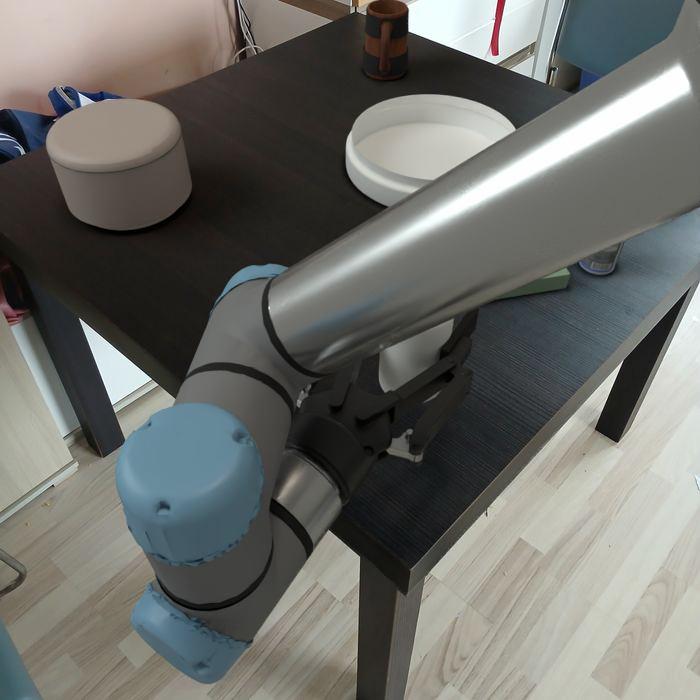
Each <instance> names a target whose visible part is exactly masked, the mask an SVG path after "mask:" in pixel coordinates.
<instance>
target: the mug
mask: <svg viewBox="0 0 700 700" xmlns="http://www.w3.org/2000/svg"><path fill="white" fill-rule="evenodd" d="M365 8H366V9H365V23H364V33H365V36H364V37H365V39H364V45H363V52H362V70H363V71H364V73H365V75H367V76H368V77H370V78H372V79H375V80H379V81H392V80H397V79H399V78H402V77H403V76H404V75H405V73H406V72H407V70H408V69H409V46H408V34H409V30H410V29H409V28H410V27H409V26H410V25H409V19H410V18H409V17H410V8H409V6H408V4H407V3H405V2H403V1H401V0H373V1H371V2H369V3H368V5H367V6H366V7H365Z"/></svg>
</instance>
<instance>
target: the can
mask: <svg viewBox="0 0 700 700" xmlns="http://www.w3.org/2000/svg"><path fill="white" fill-rule="evenodd" d="M454 320H455V318H454V319H451V320H449V321H447V322H445V323H443V324H440V325H438V326H436V327H434V328H431V329H429V330H427V331H425V332H423V333H420V334H418V335H416V336H414V337H412V338H409V339H407V340H405V341H403V342H400V343H398V344H396V345H394V346H392V347H389V348H387V349H385V350H383V351H380V352H379V359H378V360H379V362H378V382H379V385H380V387H381V389H382V391H383V392H384V393H386V392H387V391H389V390H392V391H394V390H396V389H397V388H399V387H400V386H402V385H403V384H405V383H406V382H408V381H409V380H411V379H412V378H414V377H415V376H417V375H419V374H420V373H422V372H423V371H425V370H426V369H428V368H429V367H431V366H432V365H434V364H435V363H437V362H438V361H439V358H440V351H441V348H442V346H443V345H444V344H445V343H446V342H447V340H448V339H449V338H450V336H451V334H452V333H453V326H454V322H455V321H454ZM440 393H441V391H439V392H438V393H436V394H435V395H433V396H432V397H430V398H429V399H428V400H426V401H425V402H423V403H422V404H424V403H427V402H429V401H431V400H433V399H434V398H437V397H438V396H439V395H440Z"/></svg>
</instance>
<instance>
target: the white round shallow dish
mask: <svg viewBox="0 0 700 700" xmlns="http://www.w3.org/2000/svg"><path fill="white" fill-rule="evenodd" d="M515 130H517V128H515V126H514V125H513V123H512V122H511V121H510V120H509V119H508V118H507V117H506V116H504V115H503V114H502V113H500V112H499V111H497V110H495V109H494V108H492V107H490V106H488V105H485V104H483V103H481V102H478V101H475V100H471V99H468V98H464V97H458V96H453V95H447V94H446V95H445V94H434V93H433V94H430V93H429V94H425V93H424V94H423V93H422V94H411V95H409V94H408V95H403V96H397V97H393V98H389V99H385V100H383V101H381V102H378V103H376V104H374V105H372V106H369V107H367V109H365V110H364V111H362V113H361V114H359V116H357V118H356V119H355V121H354V123H353V124H352V127H351V130H350V132H349V134H348V135H347V138H346V142H345V168H346V172H347V175H348V177H349V179H350V180H351V182H352V184H353V185H354V186H355V187H356V188H357V189H358V190H359V191H360V192H361V193H362V194H364V195H365V196H366V197H369V198H370V199H371V200H373V201H374V202H377V203H378V204H381V205H383V206H386V207H387V208H388V207H390V206H392V205H393V204H395V203H397V202H398V201H400V200H402V199H403V198H405V197H406V196H408V195H410V194H411V193H413V192H415V191H416V190H418V189H420V188H421V187H423V186H425V185H426V184H428V183H430V182H431V181H433V180H434V179H436V178H438V177H439V176H441V175H443V174H444V173H446V172H448V171H449V170H451V169H453V168H454V167H456V166H457V165H459V164H461V163H462V162H464V161H466V160H467V159H469V158H471V157H472V156H474V155H476V154H477V153H479V152H481V151H482V150H484V149H485V148H487V147H489V146H490V145H492V144H494V143H495V142H497V141H499V140H500V139H502V138H504V137H505V136H507V135H508V134H510V133H512V132H513V131H515Z"/></svg>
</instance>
